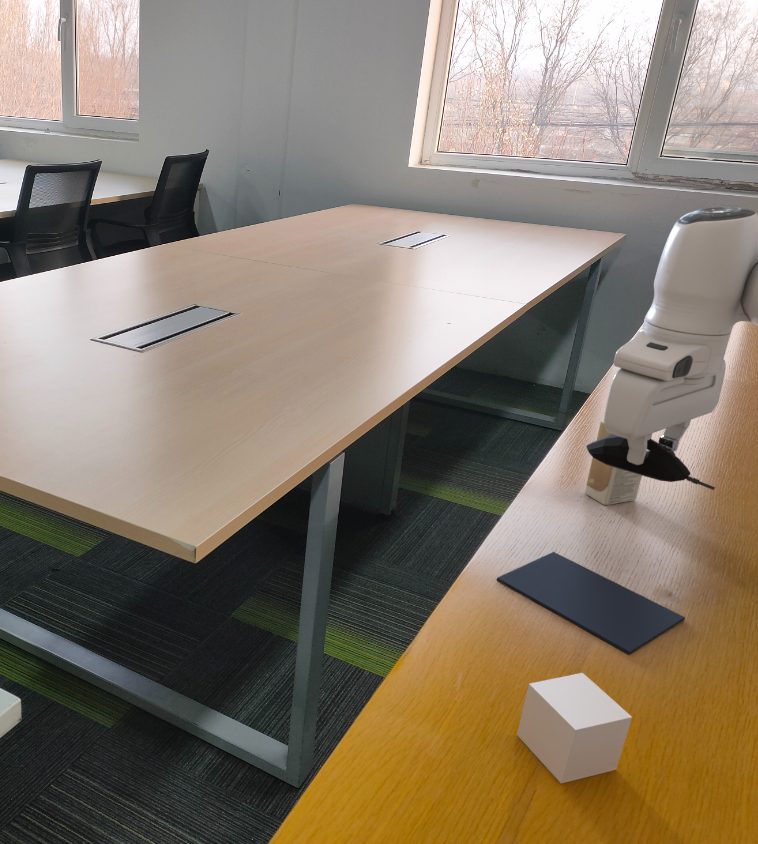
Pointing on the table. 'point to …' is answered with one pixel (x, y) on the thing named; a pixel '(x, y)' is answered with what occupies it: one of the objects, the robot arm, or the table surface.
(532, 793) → the table surface
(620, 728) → the white cube
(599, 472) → the cosmetic box
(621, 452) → the gaming mouse
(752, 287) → the robot arm
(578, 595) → the mouse pad
